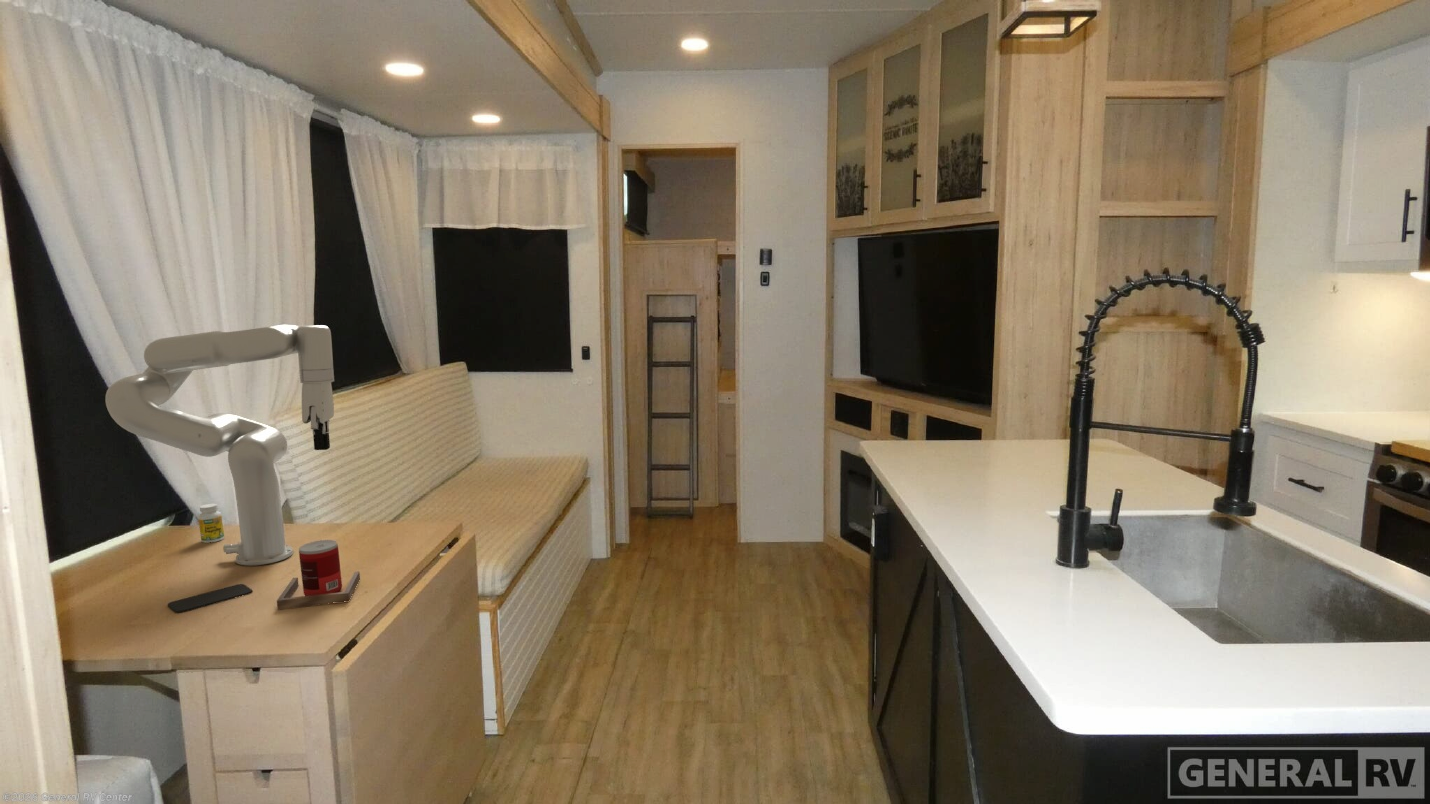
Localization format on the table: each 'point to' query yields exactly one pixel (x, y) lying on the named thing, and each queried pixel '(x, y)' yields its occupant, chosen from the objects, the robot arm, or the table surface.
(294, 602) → the walnut frame
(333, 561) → the canned food
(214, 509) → the supplement bottle
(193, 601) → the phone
